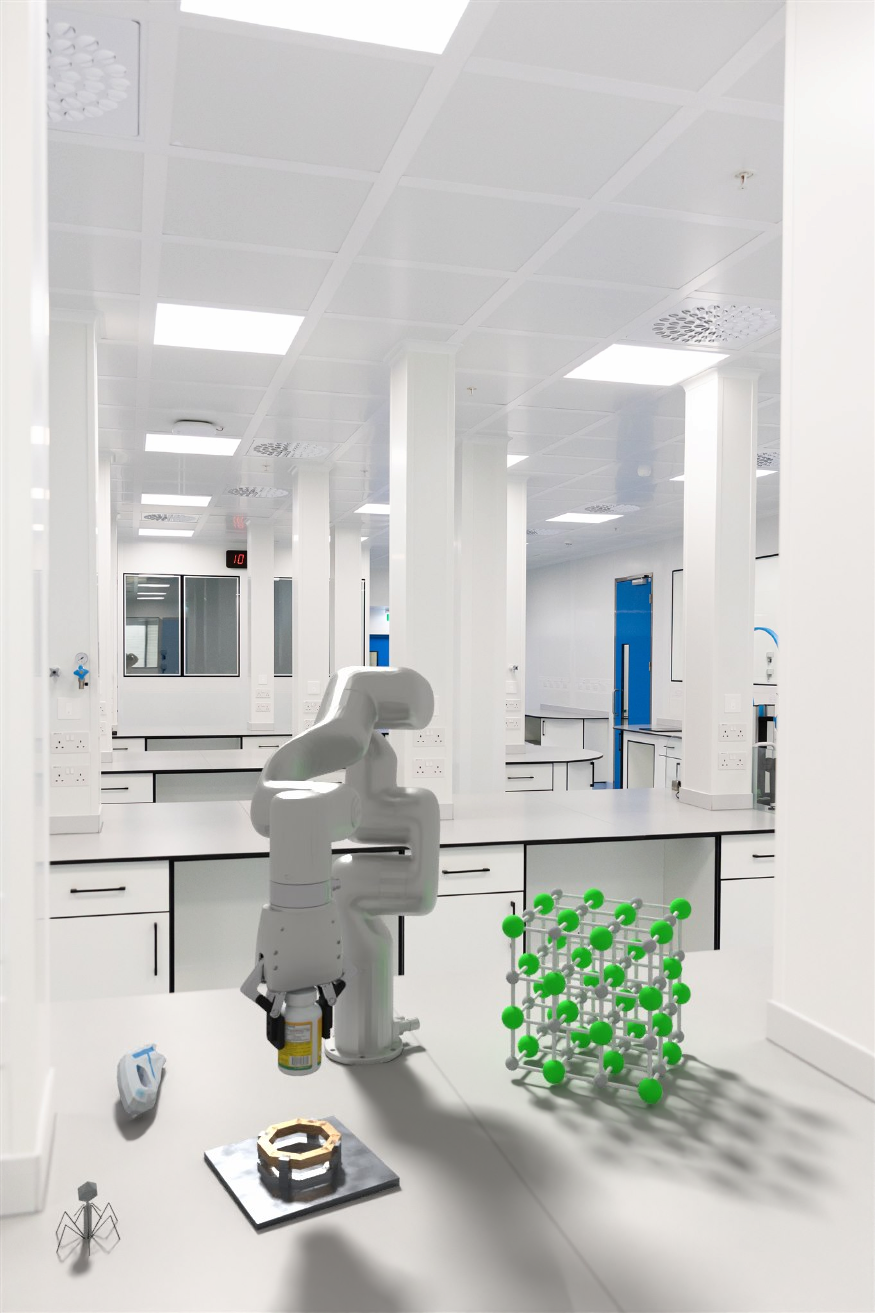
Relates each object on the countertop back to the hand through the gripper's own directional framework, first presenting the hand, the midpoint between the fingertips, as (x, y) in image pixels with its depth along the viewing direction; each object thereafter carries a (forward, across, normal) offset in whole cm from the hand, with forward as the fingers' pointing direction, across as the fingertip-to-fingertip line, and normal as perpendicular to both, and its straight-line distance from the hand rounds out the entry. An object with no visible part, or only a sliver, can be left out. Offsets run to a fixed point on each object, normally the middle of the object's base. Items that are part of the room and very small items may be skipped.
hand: (299, 1039), depth 119 cm
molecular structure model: (+17, -54, -6) cm, 56 cm away
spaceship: (+17, +8, -28) cm, 34 cm away
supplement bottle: (+4, 0, 0) cm, 4 cm away
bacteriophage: (+17, +25, 0) cm, 30 cm away
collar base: (+16, 0, 0) cm, 16 cm away
